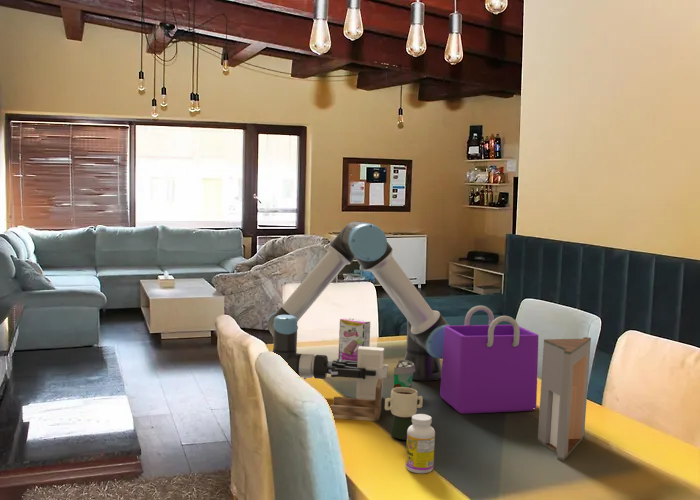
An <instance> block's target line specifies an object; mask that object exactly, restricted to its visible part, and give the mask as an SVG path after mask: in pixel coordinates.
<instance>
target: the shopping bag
mask: <svg viewBox="0 0 700 500" xmlns="http://www.w3.org/2000/svg"><path fill="white" fill-rule="evenodd" d="M479 311H480V312H481V311H482V312H484V313H486V314H487V316H488V324H475V325H474V324H471V318H472V316H473V314H475V313H476V312H479ZM501 322H508V323H509V324H499V323H501ZM538 360H539V334H537V333H535V332H533V331H531V330H529V329H528V328H527V329H526V328H524V327H523V326H519V323H518V322H517V320H516V319H515V318H513V317H511V316H509V315H500V316H497V317H496V318H495V316H494V313H493V311H492V310H491V308H489V307H488V306H485V305H475V306H473V307H471V308H470V309H469V310H468V311H467V313H466V315H465V318H464V324H463V325H462V324H461V325H455V324H454V325H450V326H445V334H444V347H443V359H442V362H441V365H442V374H441V379H440V388H439V389H440V390H439V395H440V398H441V399H442V400H444V402H446V403H447V404H448V405H450V406H451V407H452V408H453V409H454V410H455V411H456V412H458V413H459V414H460V415H461V414H464V415H467V414H489V413H490V414H493V413H514V412H532V411H536V409H537V397H538V396H537V395H538V394H537V393H538V389H537V388H538V364H539V361H538ZM533 408H535V409H533Z"/></svg>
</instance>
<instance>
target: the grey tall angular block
mask: <svg viewBox="0 0 700 500" xmlns="http://www.w3.org/2000/svg"><path fill="white" fill-rule="evenodd" d="M591 339H592V337H587V336H586V337H585V336H584V337H582V338H557V339H556V338H555V339H554V338H553V339H551V338H549V339H546V338H545V339H543V352H542V369H541V380H540V381H541V382H540V397H539V400H540V401H539V414H538V416H539V417H538V429H537V442H538V443H539V444H541V445H543V446H545V447H546V448H547V449H549V450H550V451H551V452H553V453H555V454H556V455H557V459H556V460H558V461H562V462H564V461H565V460H566V459H567V458H568V457H569V455H570V454H571V453H572V452H573V451H574V450H575V448H576V447H577V446H578V445H579V444H580V443H581V441H582V440H583V439H584V438H585V432H586V431H585V430H586V429H585V426H586V417H587V416H586V414H587V400H588V399H587V398H588V387H589V386H588V384H589V374H590V373H589V371H590V357H591V356H590V354H591V344H592V342H591V341H592V340H591Z"/></svg>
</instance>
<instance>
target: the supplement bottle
mask: <svg viewBox="0 0 700 500" xmlns="http://www.w3.org/2000/svg"><path fill="white" fill-rule="evenodd" d="M432 419H433V418H432V416H430V415H428V414H427V413H426V414H425V413H416V414H415V415H413V416H412V423H413V425H411V426H410V427H409V428H408V430H407V440H406V452H405V453H406V454H405V468H406V469H407V470H408V471H409V472H411V473H414V474H419V475H420V474H428V473H431V472H432V471H433V470H434V465H435V463H434V462H435V441H436V431H435V429H434V427H432V425H431V424H432V422H433V421H432Z"/></svg>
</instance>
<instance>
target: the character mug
mask: <svg viewBox="0 0 700 500" xmlns="http://www.w3.org/2000/svg"><path fill="white" fill-rule="evenodd" d="M418 394H419V393H418V390H417V389H415V388H412V387H411V388H408V387H396V388H394V387H393V388H391V390H390V397H386V398H385V399H384V410H385V411H390V412H391V414H392V415H393V418H392V423H391V430H390V436H392V437H393V438H396V439H398V440H402V441H404V440H406V441H407V430H408V428H409V427H410V426H411V425H413V423H412V416H413V415H415V414H417V412H418V409H421V408H422V407H423V402H424V401H423V399H424V398H423V396H422V395H418ZM389 402H390V406H389Z"/></svg>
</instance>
